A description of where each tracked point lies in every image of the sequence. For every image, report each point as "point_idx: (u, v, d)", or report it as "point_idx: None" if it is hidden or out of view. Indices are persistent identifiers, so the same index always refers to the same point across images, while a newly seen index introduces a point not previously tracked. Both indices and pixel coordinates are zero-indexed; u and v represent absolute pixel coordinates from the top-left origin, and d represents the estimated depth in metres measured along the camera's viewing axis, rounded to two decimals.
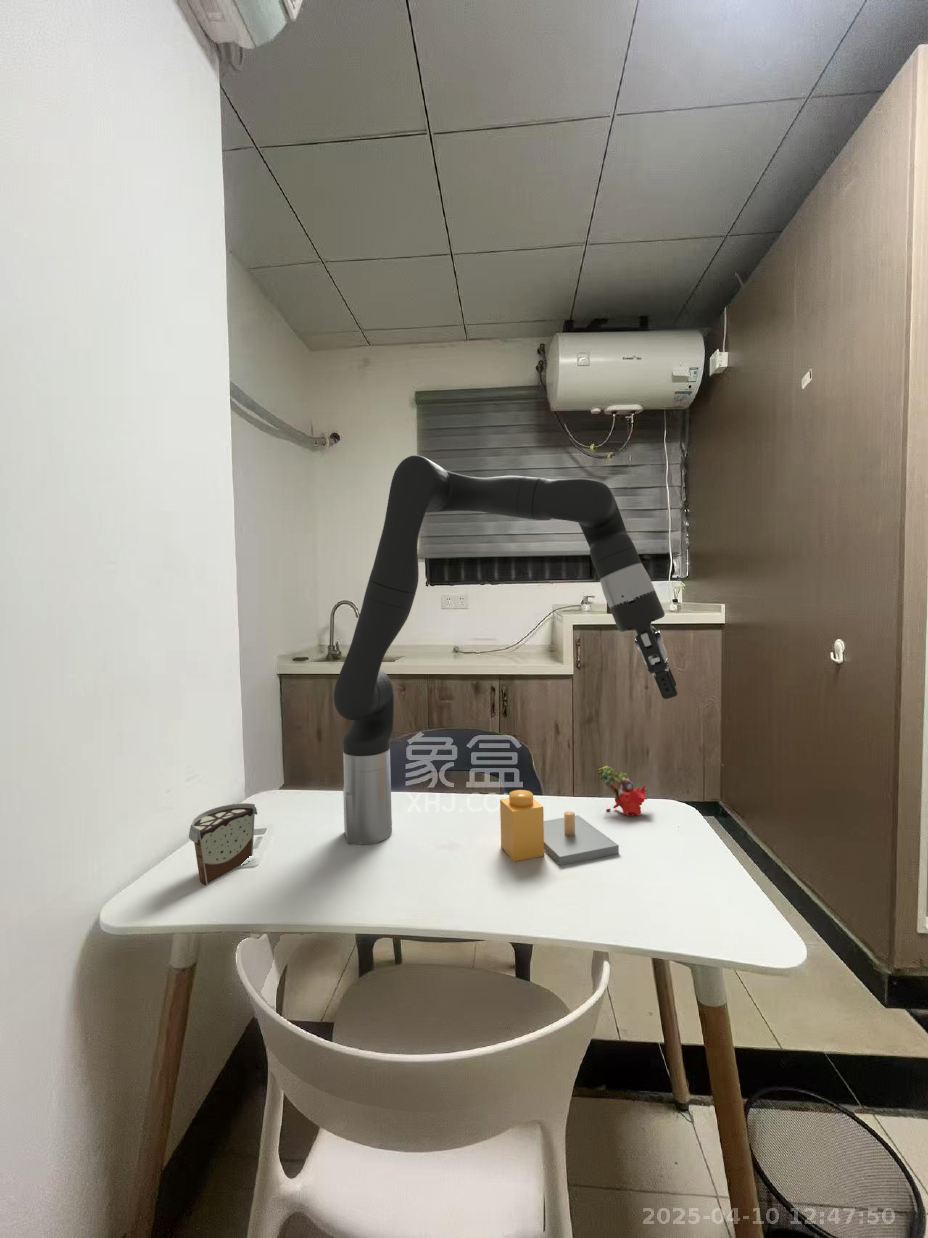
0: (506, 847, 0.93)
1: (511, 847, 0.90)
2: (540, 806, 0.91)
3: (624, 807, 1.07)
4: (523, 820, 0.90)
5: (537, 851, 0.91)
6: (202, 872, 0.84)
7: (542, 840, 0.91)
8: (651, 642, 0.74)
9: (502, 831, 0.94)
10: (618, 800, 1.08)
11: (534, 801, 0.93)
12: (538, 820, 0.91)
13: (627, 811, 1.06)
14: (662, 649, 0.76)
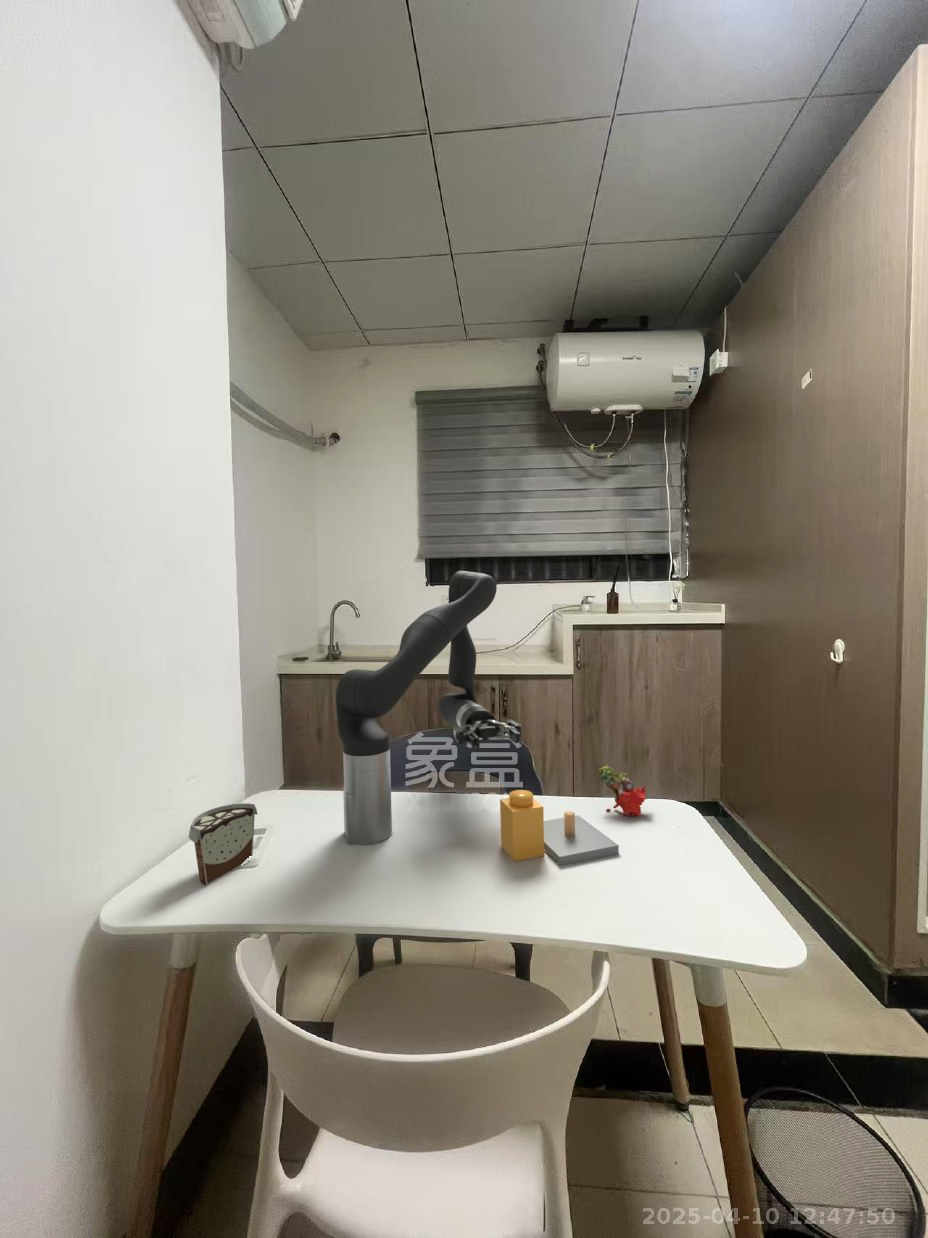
0: (506, 847, 0.93)
1: (511, 847, 0.90)
2: (540, 806, 0.91)
3: (624, 807, 1.07)
4: (523, 820, 0.90)
5: (537, 851, 0.91)
6: (202, 872, 0.84)
7: (542, 840, 0.91)
8: None
9: (502, 831, 0.94)
10: (618, 800, 1.08)
11: (534, 801, 0.93)
12: (538, 820, 0.91)
13: (627, 811, 1.06)
14: None
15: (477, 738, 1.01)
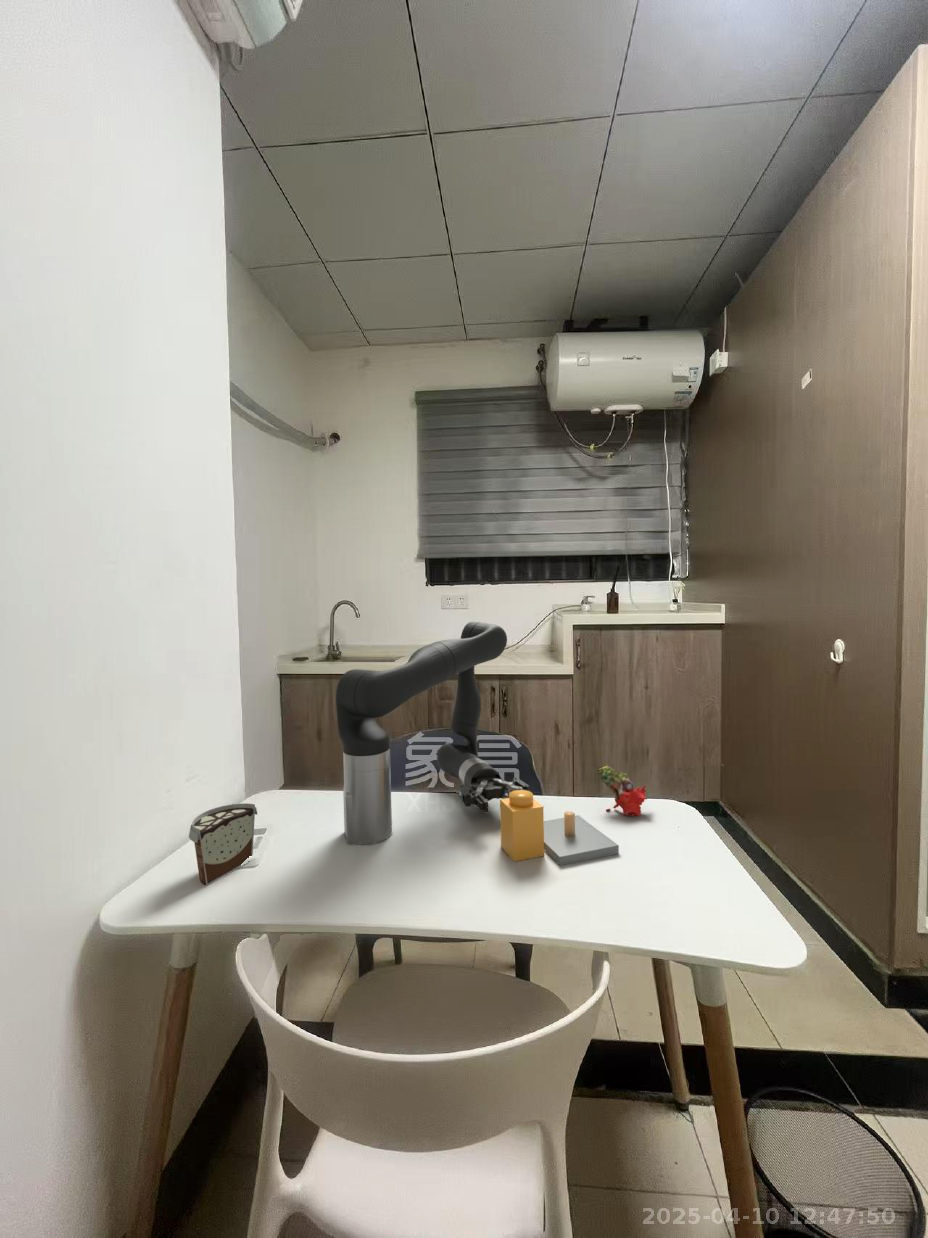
0: (506, 847, 0.93)
1: (511, 847, 0.90)
2: (540, 806, 0.91)
3: (624, 807, 1.07)
4: (523, 820, 0.90)
5: (537, 851, 0.91)
6: (202, 872, 0.84)
7: (542, 840, 0.91)
8: None
9: (502, 831, 0.94)
10: (618, 800, 1.08)
11: (534, 801, 0.93)
12: (538, 820, 0.91)
13: (627, 811, 1.06)
14: None
15: (486, 802, 0.98)
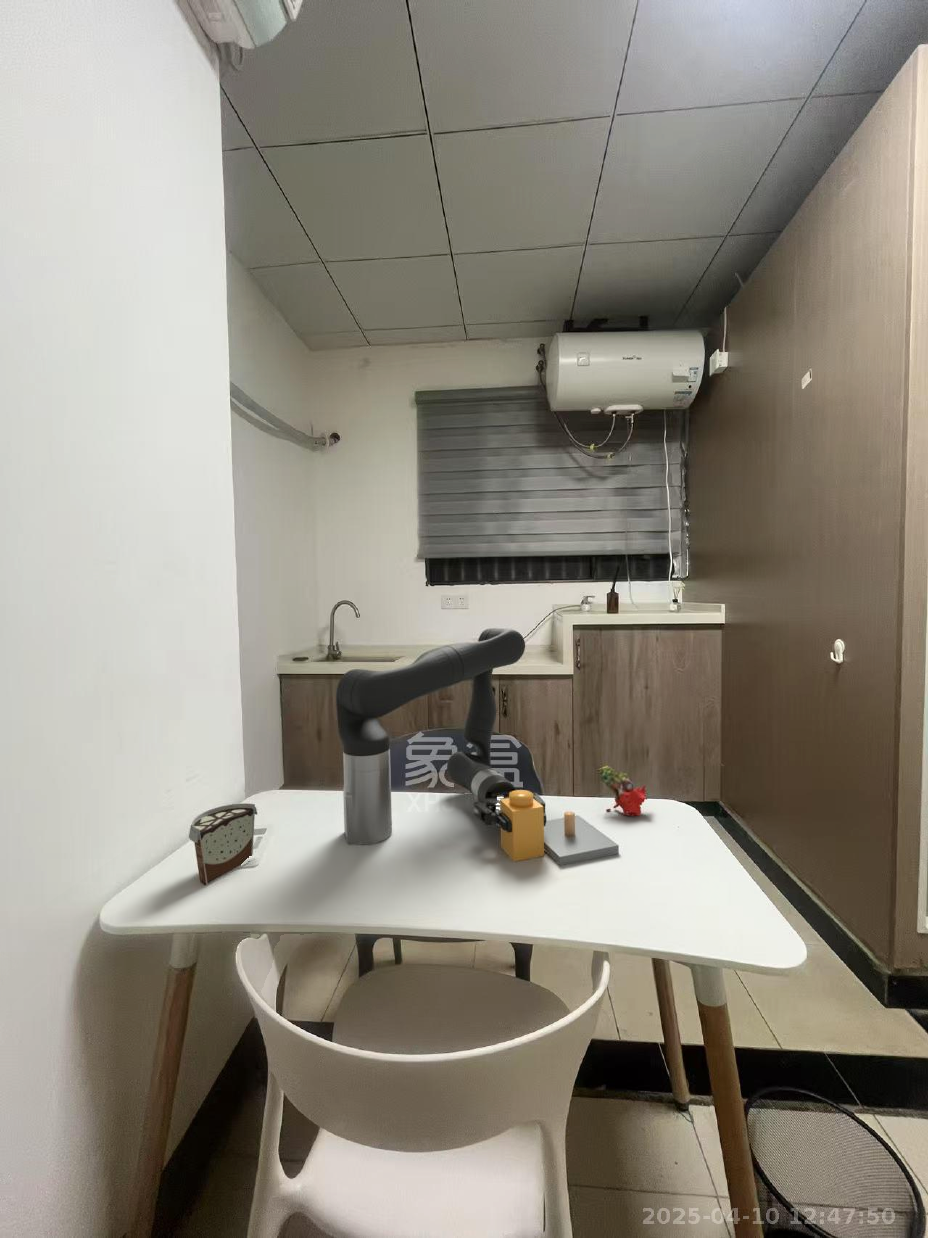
0: (506, 847, 0.93)
1: (511, 847, 0.90)
2: (540, 806, 0.91)
3: (624, 807, 1.07)
4: (523, 820, 0.90)
5: (537, 851, 0.91)
6: (202, 872, 0.84)
7: (542, 840, 0.91)
8: None
9: (502, 831, 0.94)
10: (618, 800, 1.08)
11: (534, 801, 0.93)
12: (538, 820, 0.91)
13: (627, 811, 1.06)
14: None
15: (509, 821, 0.90)
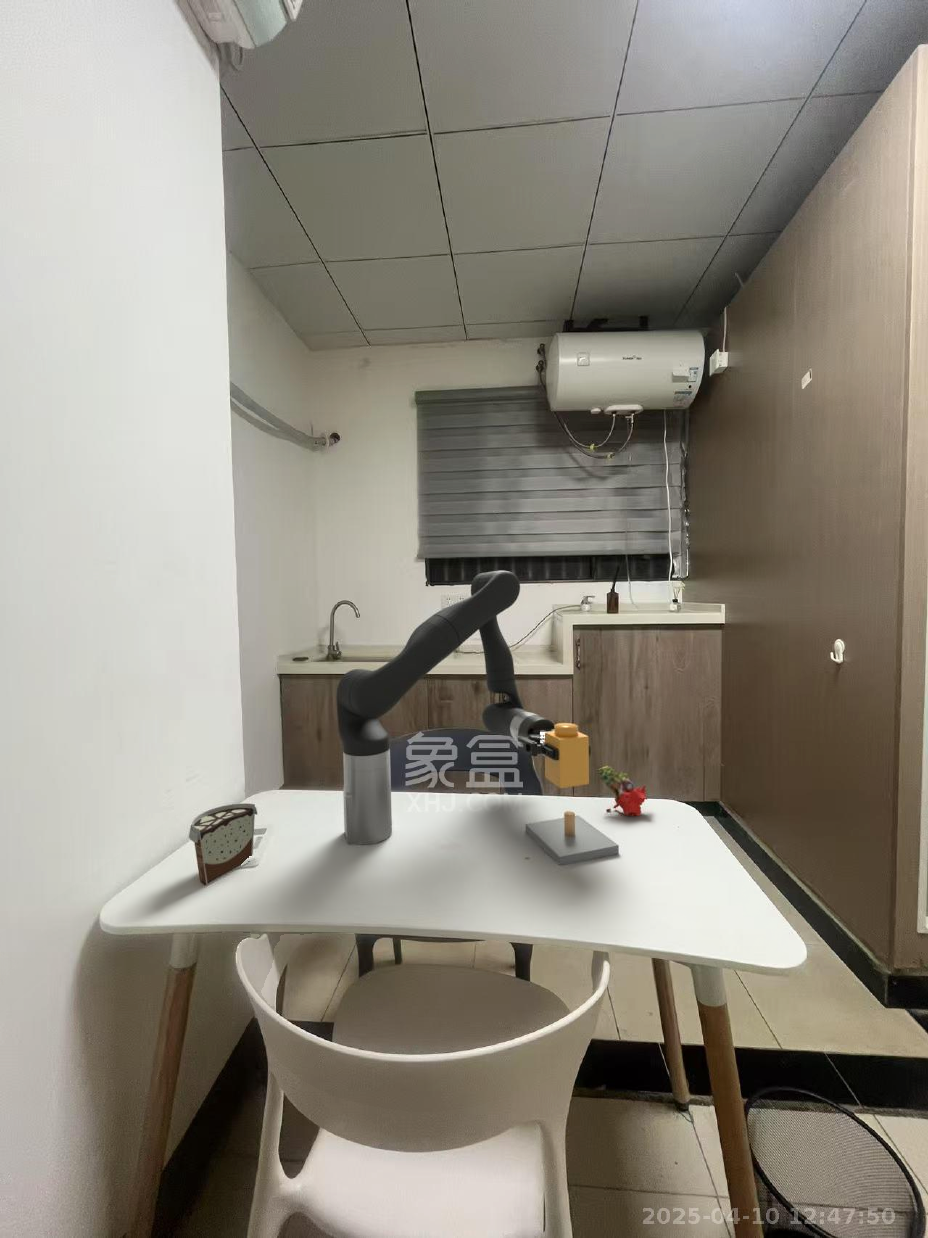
0: (551, 777, 0.95)
1: (558, 775, 0.93)
2: (585, 736, 0.94)
3: (624, 807, 1.07)
4: (569, 749, 0.93)
5: (582, 779, 0.94)
6: (202, 872, 0.84)
7: (587, 769, 0.94)
8: None
9: (547, 762, 0.97)
10: (618, 800, 1.08)
11: (578, 733, 0.96)
12: (584, 749, 0.94)
13: (627, 811, 1.06)
14: None
15: (556, 750, 0.93)
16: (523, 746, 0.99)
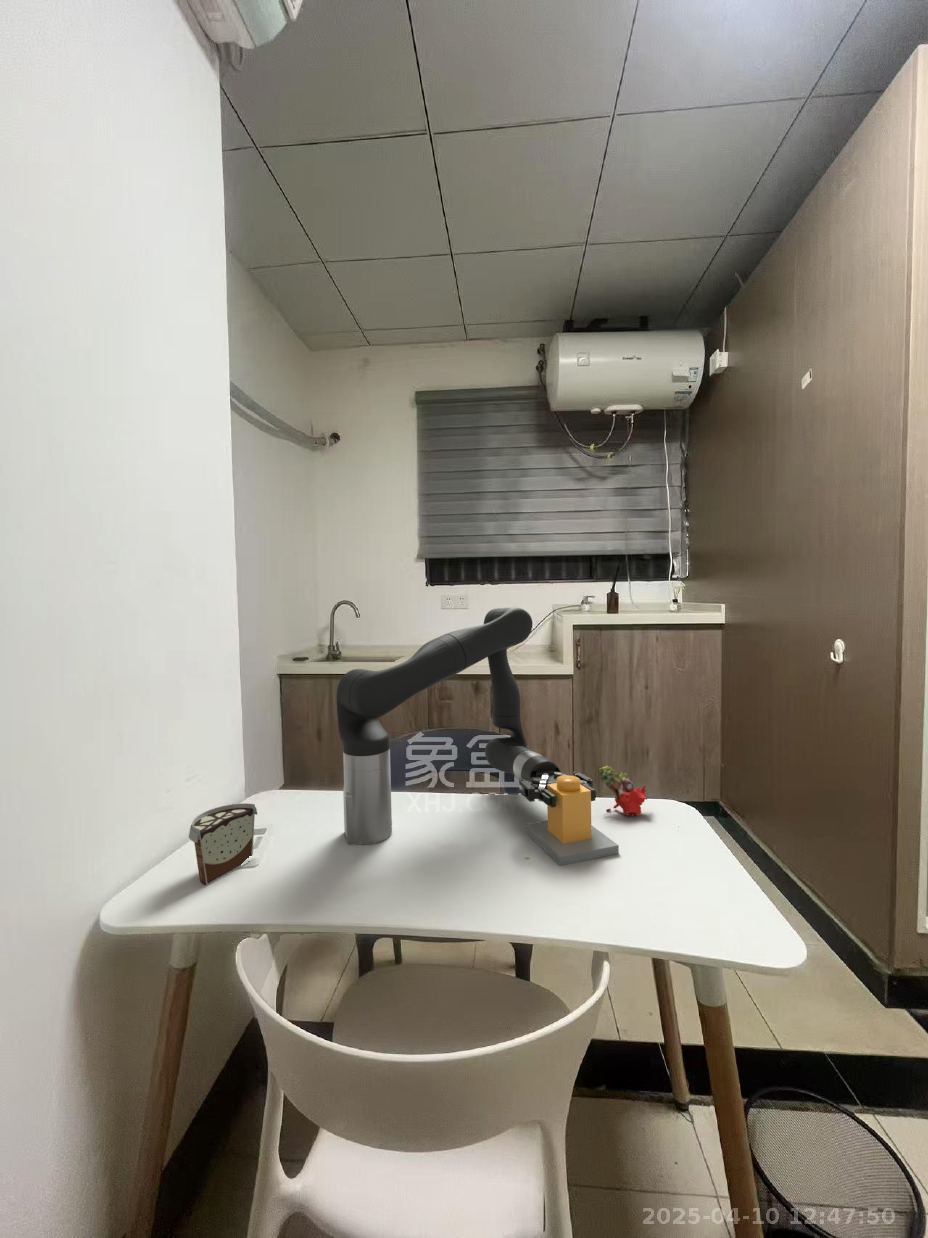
0: (554, 830, 0.96)
1: (560, 830, 0.93)
2: (588, 790, 0.94)
3: (624, 807, 1.07)
4: (572, 804, 0.93)
5: (585, 834, 0.94)
6: (202, 872, 0.84)
7: (589, 823, 0.94)
8: None
9: (549, 815, 0.97)
10: (618, 800, 1.08)
11: (580, 786, 0.97)
12: (586, 804, 0.94)
13: (627, 811, 1.06)
14: None
15: (553, 797, 0.93)
16: (523, 790, 1.00)
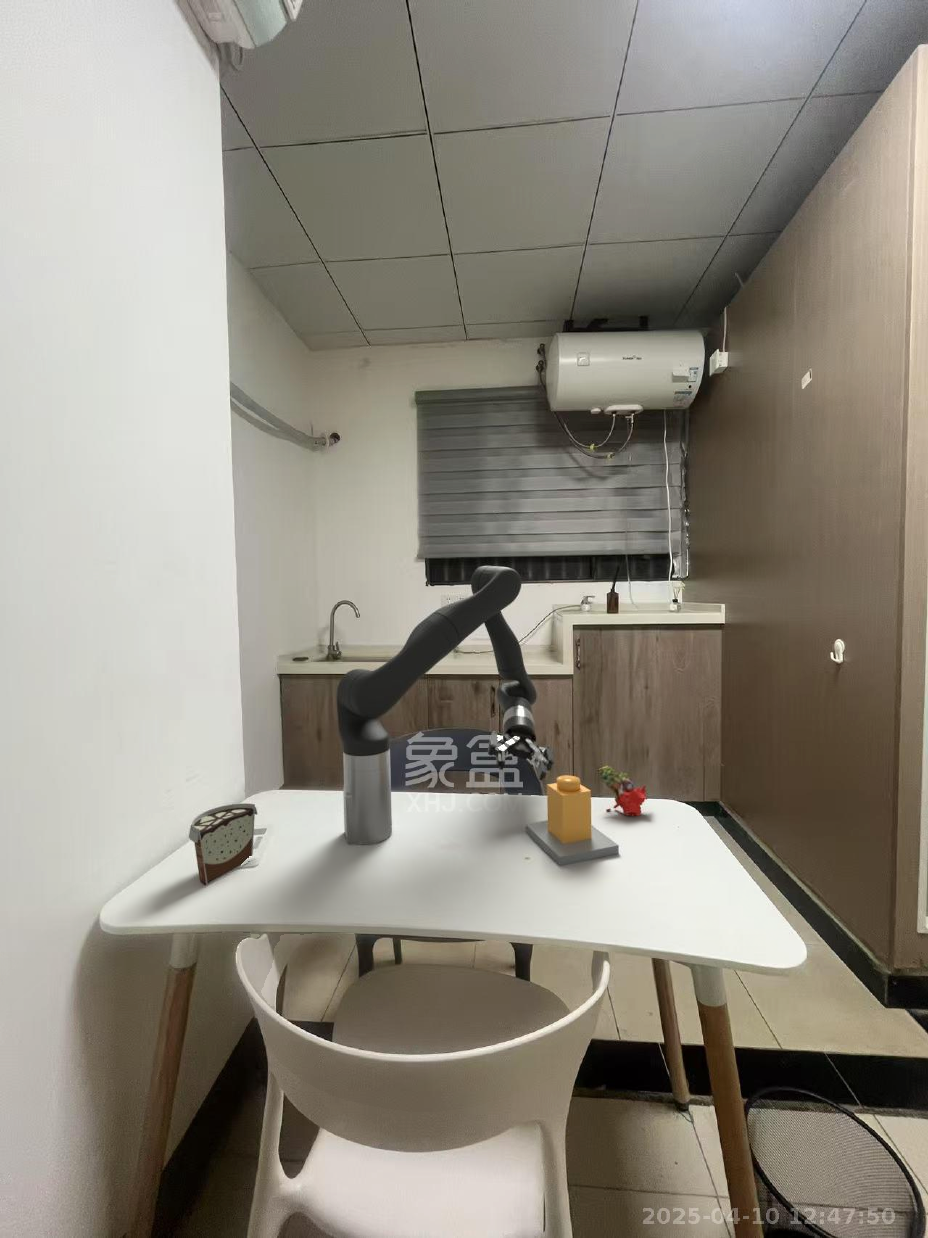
0: (554, 830, 0.96)
1: (560, 830, 0.93)
2: (588, 790, 0.94)
3: (624, 807, 1.07)
4: (572, 804, 0.93)
5: (585, 834, 0.94)
6: (202, 872, 0.84)
7: (589, 823, 0.94)
8: None
9: (549, 815, 0.97)
10: (618, 800, 1.08)
11: (580, 786, 0.97)
12: (586, 804, 0.94)
13: (627, 811, 1.06)
14: None
15: (503, 762, 1.03)
16: (490, 741, 1.11)
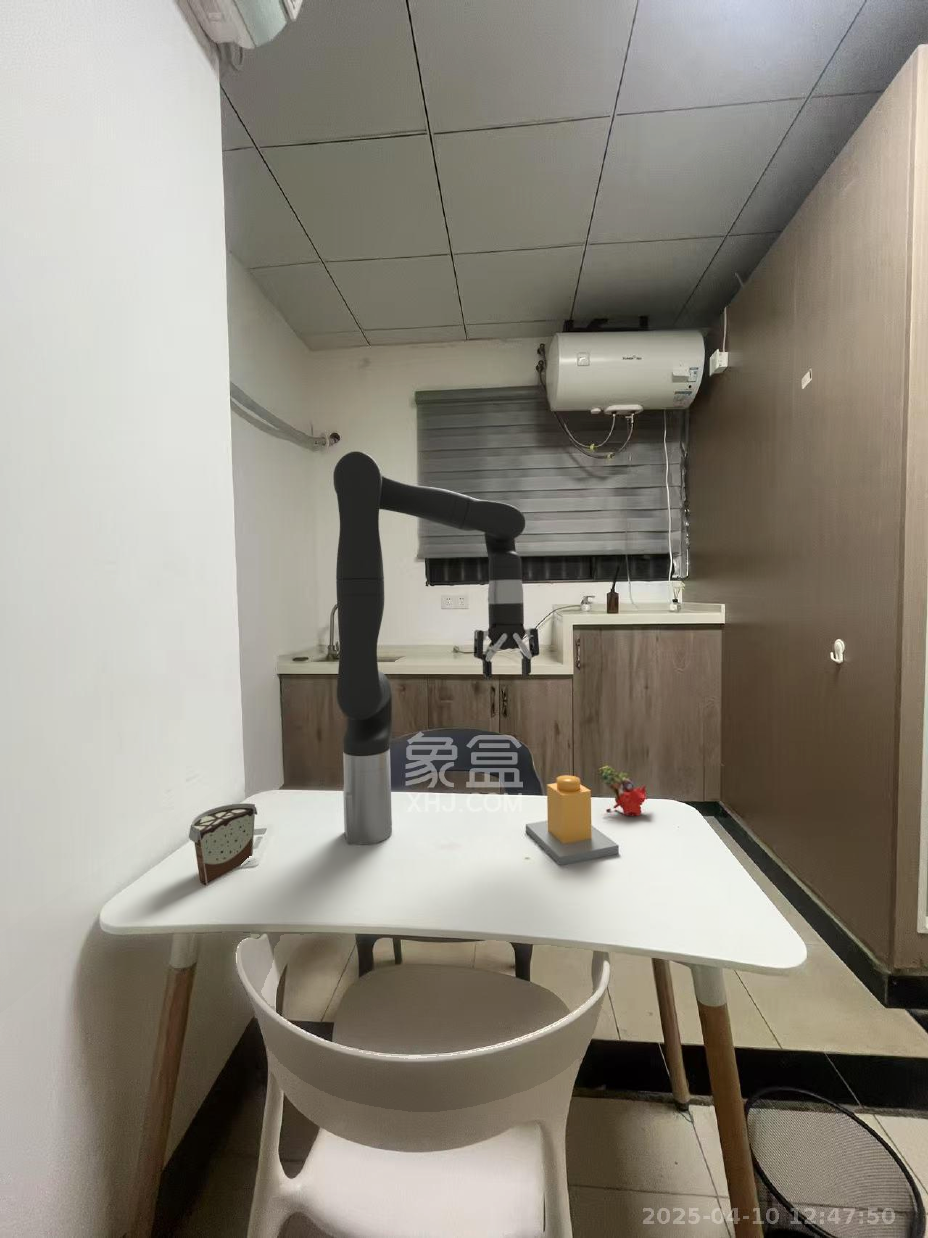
0: (554, 830, 0.96)
1: (560, 830, 0.93)
2: (588, 790, 0.94)
3: (624, 807, 1.07)
4: (572, 804, 0.93)
5: (585, 834, 0.94)
6: (202, 872, 0.84)
7: (589, 823, 0.94)
8: None
9: (549, 815, 0.97)
10: (618, 800, 1.08)
11: (580, 786, 0.97)
12: (586, 804, 0.94)
13: (627, 811, 1.06)
14: None
15: (490, 678, 1.06)
16: (476, 641, 1.06)
